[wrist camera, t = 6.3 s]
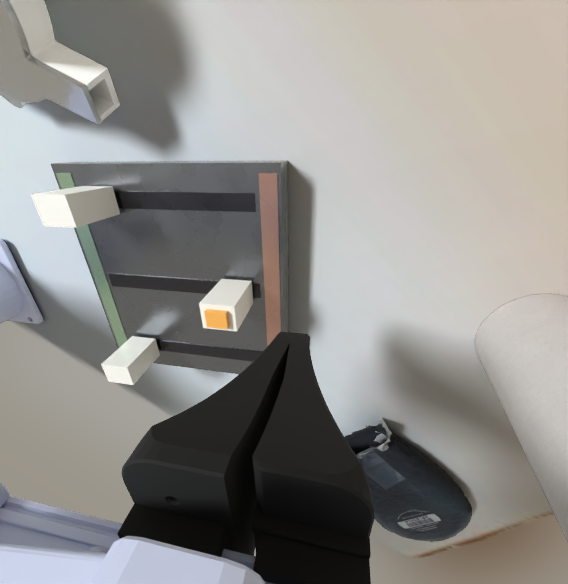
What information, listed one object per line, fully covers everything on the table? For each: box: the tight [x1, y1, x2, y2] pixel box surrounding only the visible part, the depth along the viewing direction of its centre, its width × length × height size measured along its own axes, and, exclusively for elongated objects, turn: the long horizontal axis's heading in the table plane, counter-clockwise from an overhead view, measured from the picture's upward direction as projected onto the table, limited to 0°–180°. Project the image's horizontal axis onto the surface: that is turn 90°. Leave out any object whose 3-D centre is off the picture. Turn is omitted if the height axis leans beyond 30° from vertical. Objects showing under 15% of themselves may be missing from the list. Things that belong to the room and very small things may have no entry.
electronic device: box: [344, 418, 472, 542], centre depth 26 cm, size 9×6×15 cm
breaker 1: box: [31, 186, 120, 228], centre depth 15 cm, size 2×2×3 cm
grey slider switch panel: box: [51, 161, 289, 374], centre depth 20 cm, size 14×15×2 cm
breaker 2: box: [101, 336, 160, 385], centre depth 20 cm, size 2×2×3 cm
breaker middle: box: [199, 279, 253, 331], centre depth 16 cm, size 2×2×4 cm
